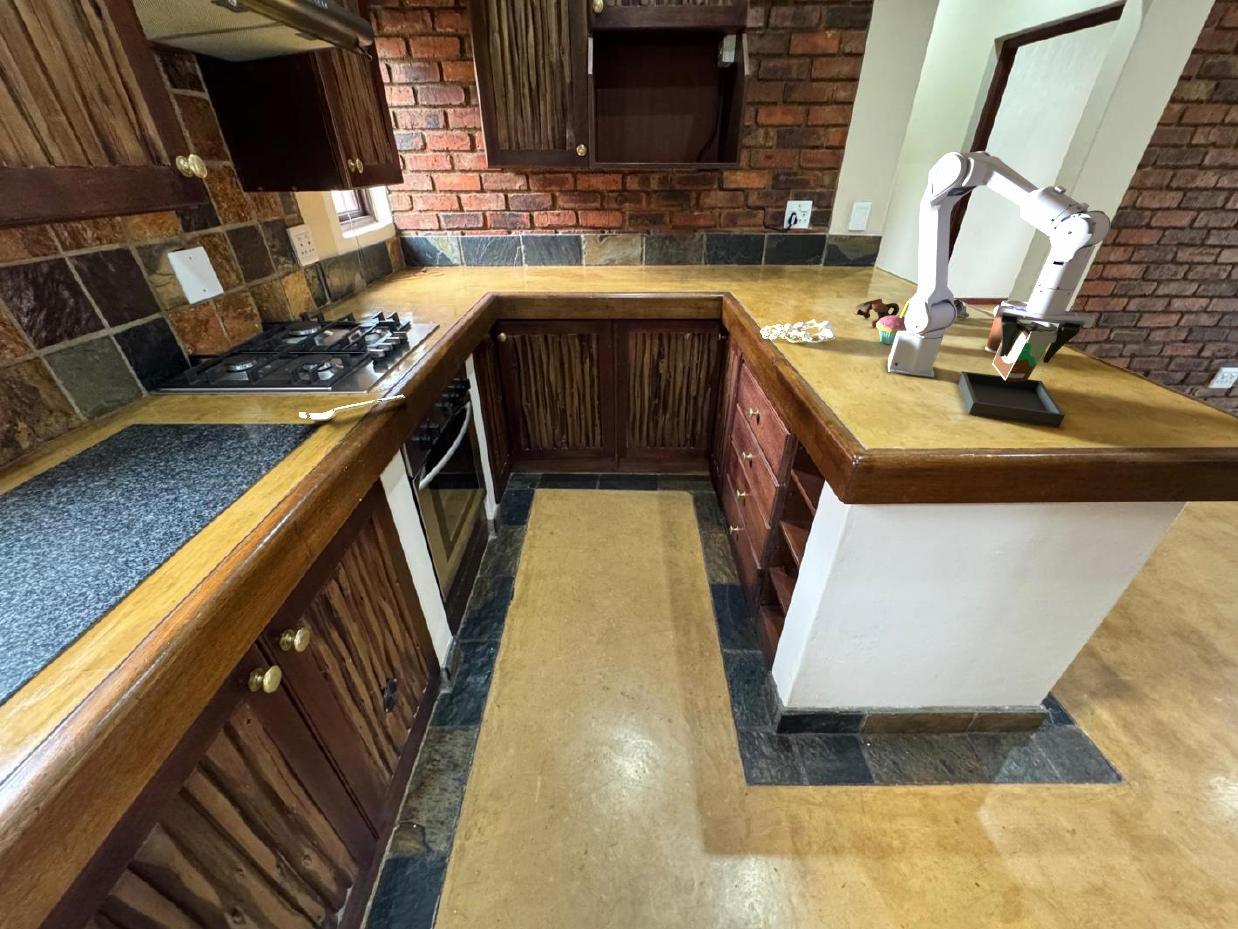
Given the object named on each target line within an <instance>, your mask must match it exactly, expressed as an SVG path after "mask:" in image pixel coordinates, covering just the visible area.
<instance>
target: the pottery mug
mask: <svg viewBox="0 0 1238 929" xmlns="http://www.w3.org/2000/svg"><path fill="white" fill-rule="evenodd" d="M854 307H855V311H854V315H855V316H862V318H864V320H867V319H869V318H871V314H870V313H871V311H873V312H874V313H876V314H877V318H875V319H873V320H872V319H871V321H870V323H871V328H872V329H875V328H877V327H876V324H877V322H878V320H880V319H881V318H883V317H885V316H891V315H892V316H893V315H895V316H896V315H898V314H899V312H900V306H899V304H898V303H897V302H890V303H884V302H883V299H882V298H877V299H871V300H868V301H865V302H862V303H859V304H857V305H856V306H854ZM891 309H893V310H892V312H891V313H889V311H890V310H891Z"/></svg>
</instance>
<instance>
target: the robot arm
mask: <svg viewBox="0 0 1238 929" xmlns="http://www.w3.org/2000/svg"><path fill="white" fill-rule="evenodd" d="M980 186H985V187H987V188H989V189H991V190H992V191H994V192H995V193H998V194H1000V195H1001V196H1003V197H1004V198H1006V199H1008V200H1009V201H1011V202H1013V203H1014V204H1015V205H1018V206H1019V207H1020V218H1021V219H1022V220H1024V221H1026V222H1027V223H1029V224H1030V225H1032V226H1033V227H1034V228H1036V229H1038V230H1039V231H1040V232H1041V233H1043V234H1045V235H1046V236H1047V237H1049V241H1050V245H1051V249H1050V252H1049V255H1048V256H1047V259H1046V261H1045V263H1044V265H1043V267H1042V270H1041V272H1040V274H1039V278H1038V280H1037V282H1036V284H1035V286H1034V288H1033V292H1032V293H1031V295H1030V298H1029V301H1028V302H1029V303H1028V305H1027V306H1005V305H1001V304H998V305H997V306H996V307H997V308H996V311H995V312H994V314H993V317H994V318H995V317H998V318H1001V324H1002V344H1001V349H1000V352H999V356H1001V357H1004V355H1005V353H1006V350H1007V347H1008V343H1009V341H1010V339H1011V336H1012V334H1013V332H1014V330H1015V328H1016V326H1017V324H1016V323H1017V319H1023V320H1031V321H1040V322H1049V323H1051V324H1058V326H1057V328H1058V329H1057V331H1058V335H1057V339H1056V341H1055V342H1054V343H1050V344H1049V346H1048V347H1047V349H1046V351H1045V354H1044V356H1043V358H1042V361H1043V363H1044V364H1049V363H1050V361H1051V360H1052V359H1053V357H1054V356H1055V355H1056V354H1057V353H1058V352H1059V351H1060V349H1061V348H1062V347H1063V346H1065V345H1066V344H1067V343H1068V342H1069V341H1070V340H1071V339H1073V338H1074V337H1076V336H1077V335H1078V334H1079V333H1080V331H1081V327H1082V328H1086V329H1091V327H1092V326H1093V323H1094V321H1095V320H1096V315H1094V314H1090V313H1082V312H1076V311H1069V310H1067V308H1068V306H1069V304H1070V302H1071V300H1072V298H1073V295H1074V294H1075V291H1076V290H1077V288H1078V285H1079V283H1080V281H1081V279H1082V277H1083V274H1084V272H1085V270H1086V268H1087V266H1088V263H1089V261H1090V259H1091V257H1092V255H1093V253H1094V250H1095V248H1096V245H1098V244H1100V243H1101V242H1102V241H1103V240H1104V239H1106V237H1107V236H1108V235H1109V233H1110V231H1111V226H1112V223H1111V222H1112V221H1111V218H1110V217H1109V216H1108V214H1106V212H1105V211H1103V210H1099V209H1098V210H1097V209H1096V210H1095V209H1094V210H1088V209H1089V207H1090V204H1088V203H1086V202H1081V203H1080V202H1078V201H1077V200H1075V199H1073V198H1072V197H1071V196H1069V195H1067V194H1065V193H1066V192H1067V188H1065V187H1064V186H1061V185H1058V186H1056V187H1054V186H1052V185H1050V186H1048V185H1047V186H1045V187H1042V188H1038V187H1037V186H1036V185H1034V184H1033V183H1032V182H1031V181H1029V180H1028V179H1026V178H1025V177H1024V176H1022V174H1020V173H1018V172H1017V171H1016V170H1015V169H1013V168H1012V167H1011V166H1010V165H1008V164H1006V163H1005V162H1004V161H1002V159H1001V158H1000V157H998V156H995V155H991V153H989V152H987V151H984V150H979V151H974V152H973V151H972V152H971V151H970V152H960V151H951V152H949V153H946V154H945V155H943V156H942V157H941V158H940V159H939V160H938V161H937V162H936V164H934V166H933V167H932V168H931V169H930V171H929V172H928V184H927V187H926V189H925V192H924V194H923V196H922V199H921V202H920V207H919V236H918V237H919V240H918V241H919V242H918V272H917V276H918V278H917V291H916V293H915V294H914V295H913V296H912V297H911V300H910V299H909V300H910V302H909V305H908V309H907V311H906V313H905V316H904V317H905V326H906V328H907V331H898V332H897V334H896V337H895V340H894V344H893V345H892V346H891V351H890V353H889V355H888V357H887V358H888V359H887V371H888V373H896V374H903V375H910V376H919V377H925V378H935V372H934V364H935V361H936V358H937V356H938V353H939V350H940V348H941V344H942V342H943V339H944V335H945V334H946V331H947V329H948V328H951V326H953V324H954V323H956V321H957V319H958V318H957V309H956V306H955V305H954V300H955V299H954V296H955V295H954V293H953V292H952V290H950V288H949V287H948V279H949V278H948V277H949V276H948V275H949V257H950V256H949V255H950V233H951V212H952V208H953V207H954V206H955V205H956V204H957V203H958V202H959V201H960V200H961V199H962V198H963V197H964V196H965V195H967V194H969V193H970V192H972V191H974V189H976V188H978V187H980ZM956 318H957V319H956Z"/></svg>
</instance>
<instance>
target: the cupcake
mask: <svg viewBox="0 0 1238 929" xmlns="http://www.w3.org/2000/svg"><path fill="white" fill-rule="evenodd" d="M911 299H912V297H910V298H909V300H907V301H906V304H905V306H904V308H903V309H902V312H901V314H900V315H899V314H897V315H896V316H895V315H893V316H892V315H891V316H885V317H883V318H881V319H880V320H878V322H877V324H876V328H877V330H878V331H879V341H880V343H882V344H885V345H892V346H893V344H894V340H895V337H896V334H897V332H898V331H907V328H906V326H905V317H906V316H905V315H906V313H907V311H908V309H909V302H910V300H911Z"/></svg>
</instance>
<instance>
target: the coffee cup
mask: <svg viewBox="0 0 1238 929" xmlns="http://www.w3.org/2000/svg"><path fill="white" fill-rule="evenodd" d="M1028 303H1029V301H1026V300H1020V299H1019V300H1018V299H1006V300H1003V301H1002V302H1001V304H1000V305H1005V306H1027V305H1028ZM996 308H997V306H996V307H994V309H993V313H995V311H996ZM990 328H991V329H990V332H989V334H988V337H987V338H988V339H987V342H986V345H985V347H984V348H985V350H986V351H987V352H989V353H993V354H995V355H996V354H997V351H998V349H999V346H1000V344H1001V342H1002V324H1001V318H998V317H994V318H993V322H992V325H991V327H990Z"/></svg>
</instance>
